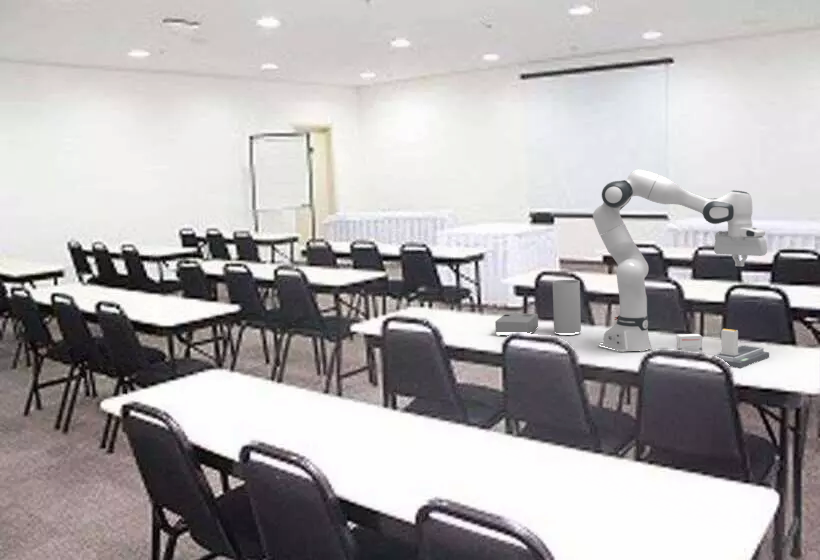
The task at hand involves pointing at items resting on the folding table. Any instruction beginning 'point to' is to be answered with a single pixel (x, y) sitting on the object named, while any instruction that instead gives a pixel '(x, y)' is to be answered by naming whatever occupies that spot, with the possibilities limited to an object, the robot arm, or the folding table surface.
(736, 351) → the fader knob
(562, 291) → the cylinder vase
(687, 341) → the ink box
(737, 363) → the fader console
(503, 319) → the projector
